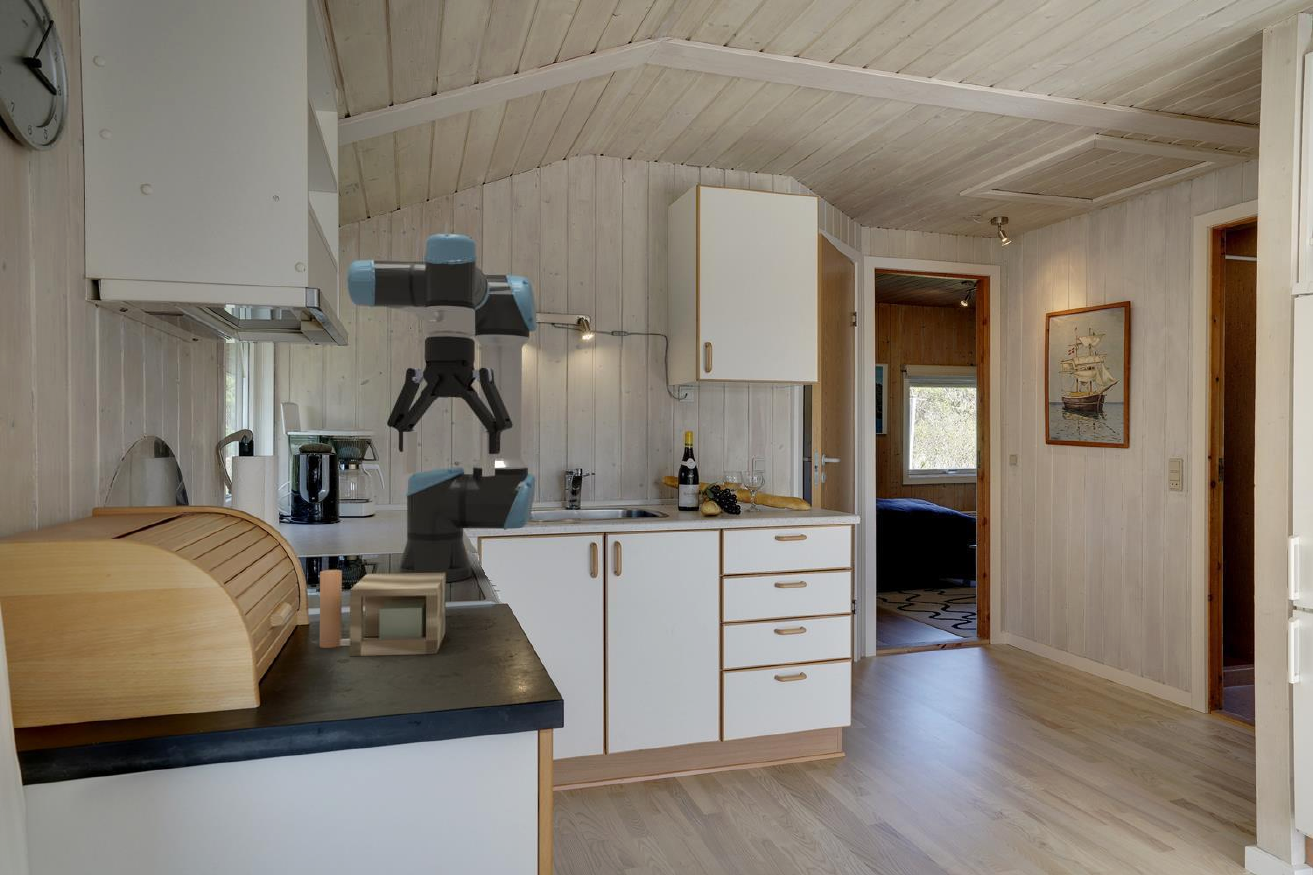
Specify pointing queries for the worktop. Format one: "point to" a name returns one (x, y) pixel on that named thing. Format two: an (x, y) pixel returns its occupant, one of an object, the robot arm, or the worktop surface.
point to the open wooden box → (396, 588)
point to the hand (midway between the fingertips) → (448, 474)
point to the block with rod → (393, 617)
